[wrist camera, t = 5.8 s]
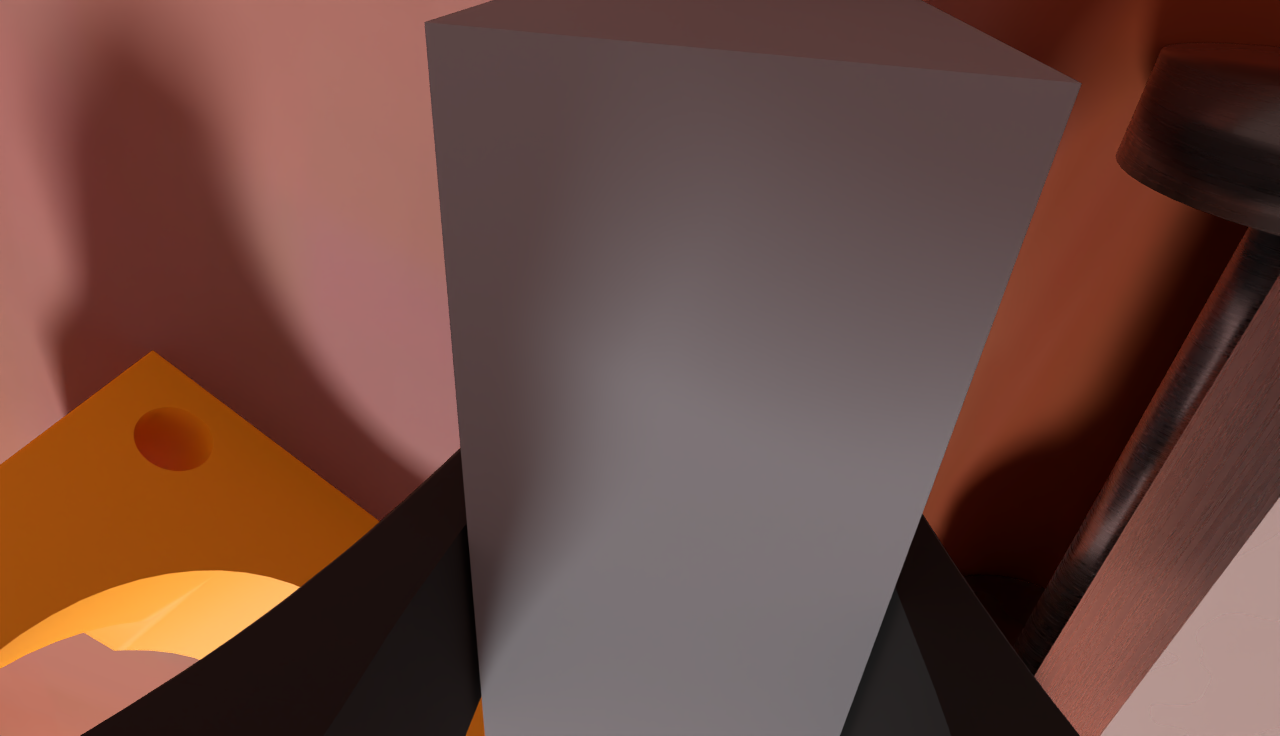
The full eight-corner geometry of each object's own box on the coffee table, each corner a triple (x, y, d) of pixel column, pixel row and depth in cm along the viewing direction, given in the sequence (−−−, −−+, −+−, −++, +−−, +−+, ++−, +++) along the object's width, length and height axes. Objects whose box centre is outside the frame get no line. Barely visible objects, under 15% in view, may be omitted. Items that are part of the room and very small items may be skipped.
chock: (921, 0, 8) (1081, 83, 4) (769, 620, 14) (774, 912, 10) (583, -29, 9) (424, 23, 5) (571, 589, 15) (495, 860, 10)
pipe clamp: (78, 445, 17) (-245, 707, 11) (157, 346, 15) (-188, 606, 9) (470, 712, 21) (367, 1002, 15) (575, 662, 19) (499, 974, 13)
